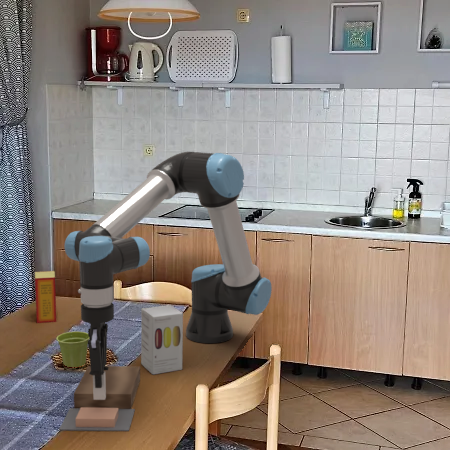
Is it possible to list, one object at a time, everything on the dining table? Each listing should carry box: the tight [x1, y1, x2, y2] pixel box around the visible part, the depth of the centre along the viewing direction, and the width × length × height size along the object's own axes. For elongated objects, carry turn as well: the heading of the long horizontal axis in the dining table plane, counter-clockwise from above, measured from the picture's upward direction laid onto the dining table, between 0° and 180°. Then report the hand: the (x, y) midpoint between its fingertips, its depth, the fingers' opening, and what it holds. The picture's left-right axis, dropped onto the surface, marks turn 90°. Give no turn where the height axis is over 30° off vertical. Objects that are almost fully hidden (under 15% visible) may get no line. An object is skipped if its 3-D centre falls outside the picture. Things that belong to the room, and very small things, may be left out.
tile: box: [76, 407, 119, 427], centre depth 164 cm, size 9×6×2 cm, turn 90°
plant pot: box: [55, 331, 89, 367], centre depth 198 cm, size 9×9×9 cm
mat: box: [59, 407, 136, 432], centre depth 165 cm, size 16×11×1 cm
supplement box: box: [140, 304, 184, 375], centre depth 197 cm, size 10×9×17 cm
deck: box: [73, 365, 141, 409], centre depth 179 cm, size 14×18×4 cm
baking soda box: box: [34, 270, 57, 324], centre depth 239 cm, size 10×6×16 cm
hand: (99, 398), depth 165 cm, fingers closed
